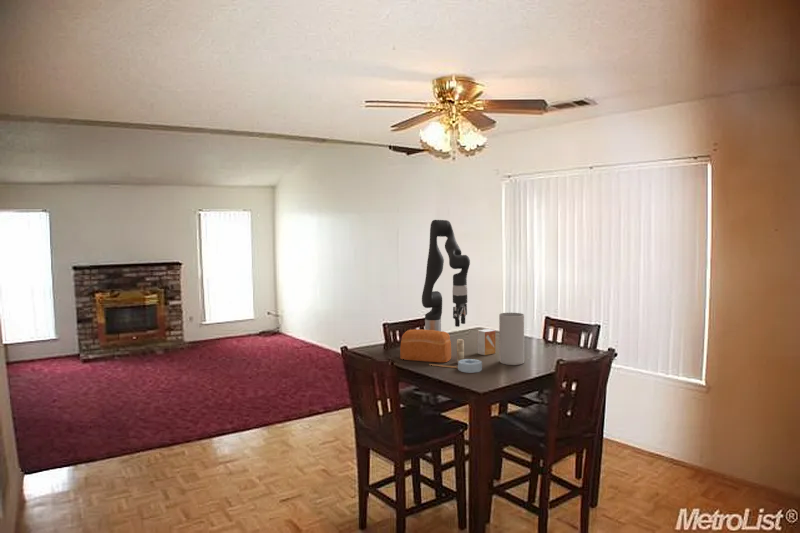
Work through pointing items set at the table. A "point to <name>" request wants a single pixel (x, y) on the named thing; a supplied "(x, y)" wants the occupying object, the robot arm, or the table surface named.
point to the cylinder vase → (511, 338)
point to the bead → (469, 365)
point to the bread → (425, 346)
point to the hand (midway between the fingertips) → (460, 325)
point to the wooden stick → (443, 366)
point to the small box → (486, 341)
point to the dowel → (460, 349)
